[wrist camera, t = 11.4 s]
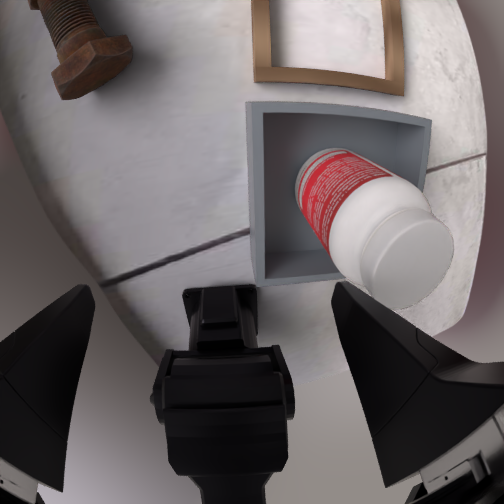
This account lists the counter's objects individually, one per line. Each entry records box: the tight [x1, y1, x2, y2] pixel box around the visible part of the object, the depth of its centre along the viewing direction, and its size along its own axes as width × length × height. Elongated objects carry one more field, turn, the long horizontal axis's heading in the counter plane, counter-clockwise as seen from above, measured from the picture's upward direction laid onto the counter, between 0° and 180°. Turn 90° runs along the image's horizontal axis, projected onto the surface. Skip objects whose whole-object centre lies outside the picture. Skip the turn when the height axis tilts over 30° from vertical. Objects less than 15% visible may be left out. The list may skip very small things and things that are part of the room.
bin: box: [246, 101, 432, 287], centre depth 19 cm, size 12×12×4 cm
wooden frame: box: [251, 0, 404, 96], centre depth 13 cm, size 11×11×1 cm
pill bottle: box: [295, 148, 454, 310], centre depth 15 cm, size 6×6×11 cm
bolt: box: [28, 0, 133, 100], centre depth 9 cm, size 6×5×15 cm
